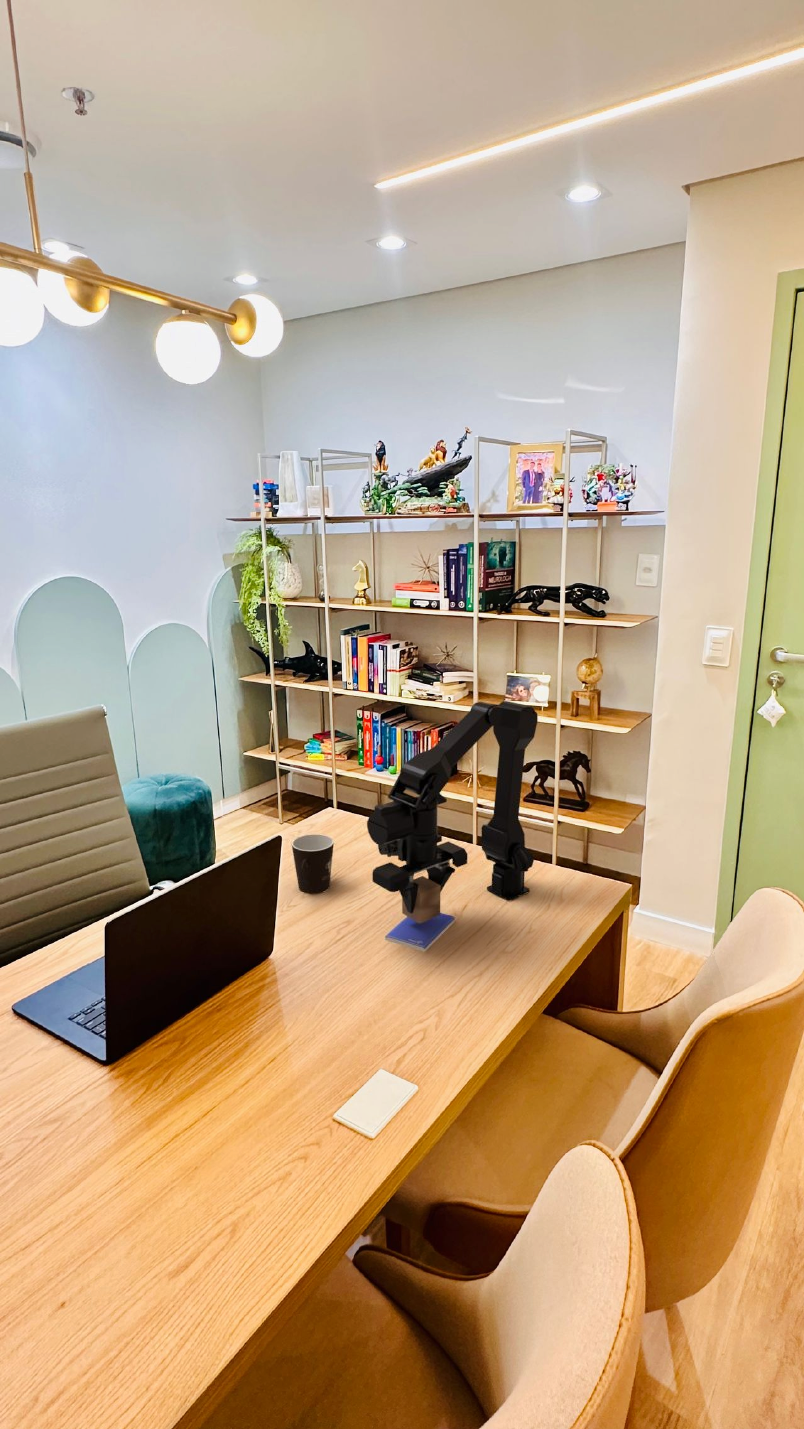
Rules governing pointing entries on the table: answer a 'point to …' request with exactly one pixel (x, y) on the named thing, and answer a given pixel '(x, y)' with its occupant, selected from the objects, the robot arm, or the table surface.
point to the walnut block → (425, 901)
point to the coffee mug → (313, 862)
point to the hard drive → (420, 932)
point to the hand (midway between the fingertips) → (421, 907)
